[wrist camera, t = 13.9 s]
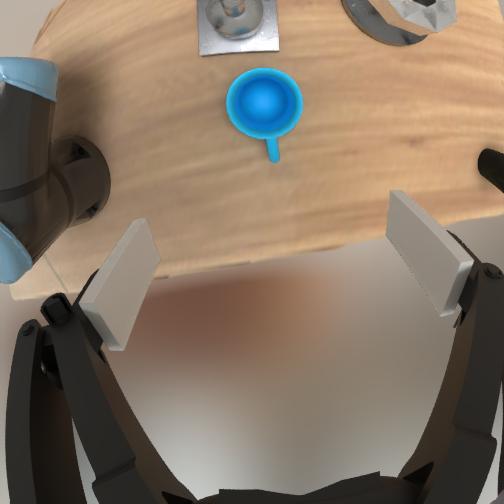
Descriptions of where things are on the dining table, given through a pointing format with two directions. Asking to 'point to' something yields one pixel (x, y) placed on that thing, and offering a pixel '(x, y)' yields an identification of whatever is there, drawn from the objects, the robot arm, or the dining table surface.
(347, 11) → the hub
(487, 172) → the cup
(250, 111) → the mug
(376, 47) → the dining table surface
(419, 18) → the faceted steel ring
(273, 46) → the stand
